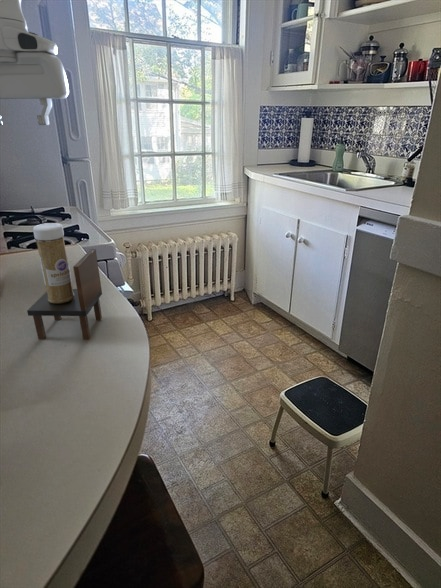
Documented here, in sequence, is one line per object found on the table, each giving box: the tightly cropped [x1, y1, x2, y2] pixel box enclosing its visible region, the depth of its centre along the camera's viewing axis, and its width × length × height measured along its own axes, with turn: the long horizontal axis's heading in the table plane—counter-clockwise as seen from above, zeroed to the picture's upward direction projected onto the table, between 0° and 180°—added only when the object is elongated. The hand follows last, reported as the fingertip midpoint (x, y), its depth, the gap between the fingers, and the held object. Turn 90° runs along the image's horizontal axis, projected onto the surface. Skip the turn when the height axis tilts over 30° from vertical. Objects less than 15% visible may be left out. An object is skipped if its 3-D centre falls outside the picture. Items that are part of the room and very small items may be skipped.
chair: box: [26, 248, 103, 341], centre depth 70 cm, size 10×9×14 cm
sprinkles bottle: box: [32, 222, 74, 304], centre depth 67 cm, size 5×5×13 cm
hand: (20, 125), depth 77 cm, fingers open, 8 cm apart
